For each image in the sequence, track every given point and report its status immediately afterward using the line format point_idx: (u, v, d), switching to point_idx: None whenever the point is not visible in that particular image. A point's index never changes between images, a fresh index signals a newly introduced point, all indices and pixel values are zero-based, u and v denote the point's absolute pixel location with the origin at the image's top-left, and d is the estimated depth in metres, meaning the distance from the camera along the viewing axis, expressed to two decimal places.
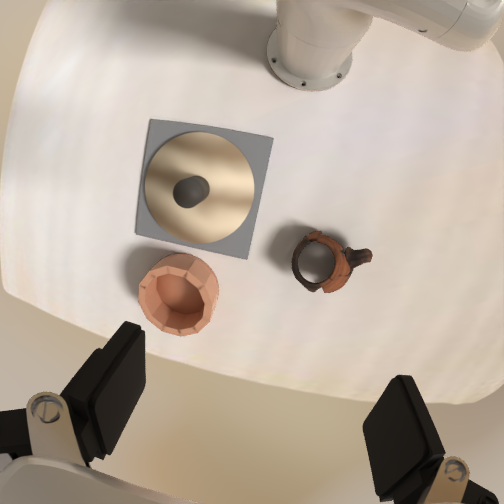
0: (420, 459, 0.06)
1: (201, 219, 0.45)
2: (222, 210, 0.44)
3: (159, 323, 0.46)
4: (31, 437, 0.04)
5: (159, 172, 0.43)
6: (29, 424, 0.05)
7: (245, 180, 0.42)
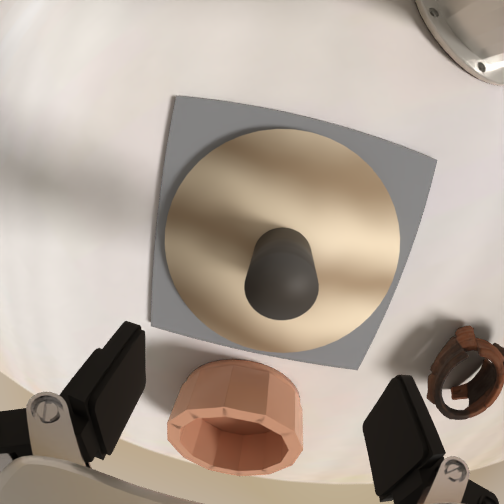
0: (420, 459, 0.06)
1: None
2: (332, 298, 0.21)
3: (204, 463, 0.24)
4: (31, 437, 0.04)
5: (197, 215, 0.20)
6: (29, 424, 0.05)
7: (385, 242, 0.19)
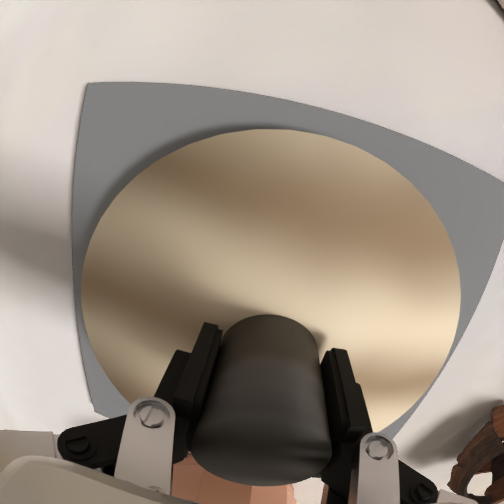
0: (339, 430, 0.07)
1: None
2: None
3: None
4: (124, 436, 0.05)
5: (122, 289, 0.11)
6: (127, 423, 0.06)
7: (437, 327, 0.11)
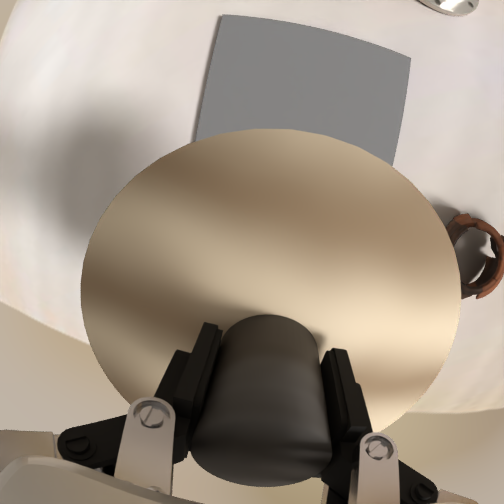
0: (339, 430, 0.07)
1: None
2: None
3: None
4: (124, 435, 0.05)
5: (121, 289, 0.11)
6: (126, 423, 0.06)
7: (437, 327, 0.11)
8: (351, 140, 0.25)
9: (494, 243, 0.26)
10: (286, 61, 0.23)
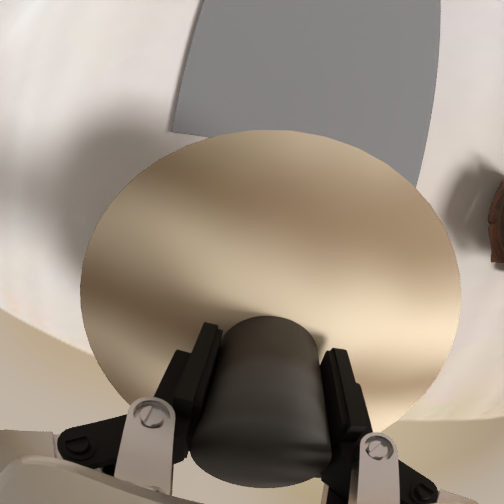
0: (339, 430, 0.07)
1: None
2: None
3: None
4: (124, 436, 0.05)
5: (121, 291, 0.11)
6: (127, 423, 0.06)
7: (437, 328, 0.11)
8: (383, 69, 0.17)
9: None
10: None
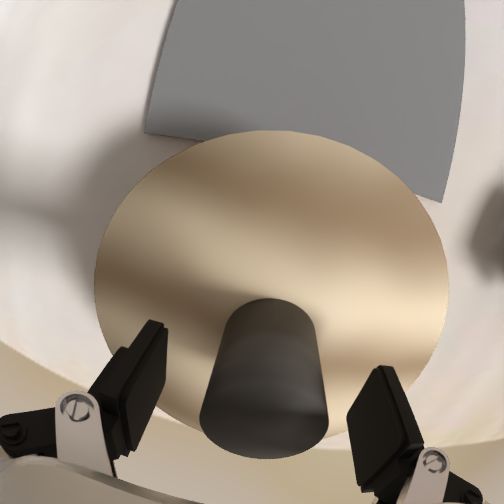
0: (398, 448, 0.06)
1: None
2: (343, 388, 0.13)
3: None
4: (57, 434, 0.05)
5: (134, 277, 0.12)
6: (57, 421, 0.05)
7: (427, 312, 0.12)
8: (404, 57, 0.13)
9: None
10: None
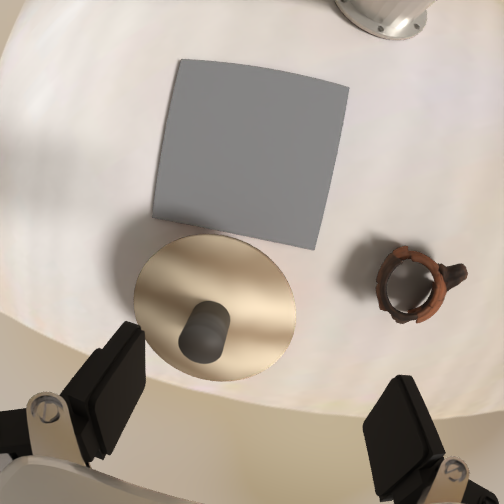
0: (420, 459, 0.06)
1: None
2: (249, 346, 0.30)
3: None
4: (31, 437, 0.04)
5: (153, 292, 0.29)
6: (29, 424, 0.05)
7: (283, 309, 0.29)
8: (290, 168, 0.31)
9: (437, 270, 0.32)
10: (233, 100, 0.29)
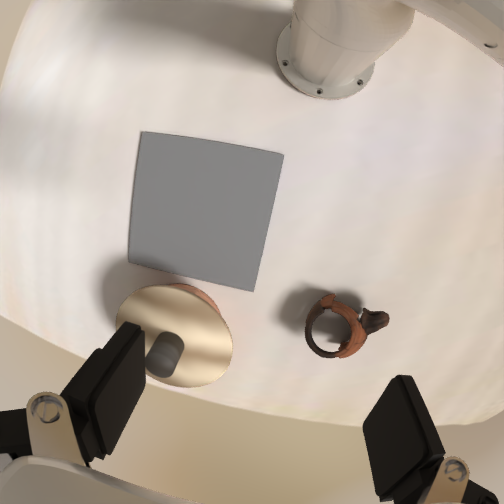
0: (420, 459, 0.06)
1: (179, 369, 0.40)
2: (199, 364, 0.39)
3: None
4: (31, 437, 0.04)
5: None
6: (29, 424, 0.05)
7: (222, 340, 0.38)
8: (231, 228, 0.39)
9: None
10: (185, 171, 0.37)
